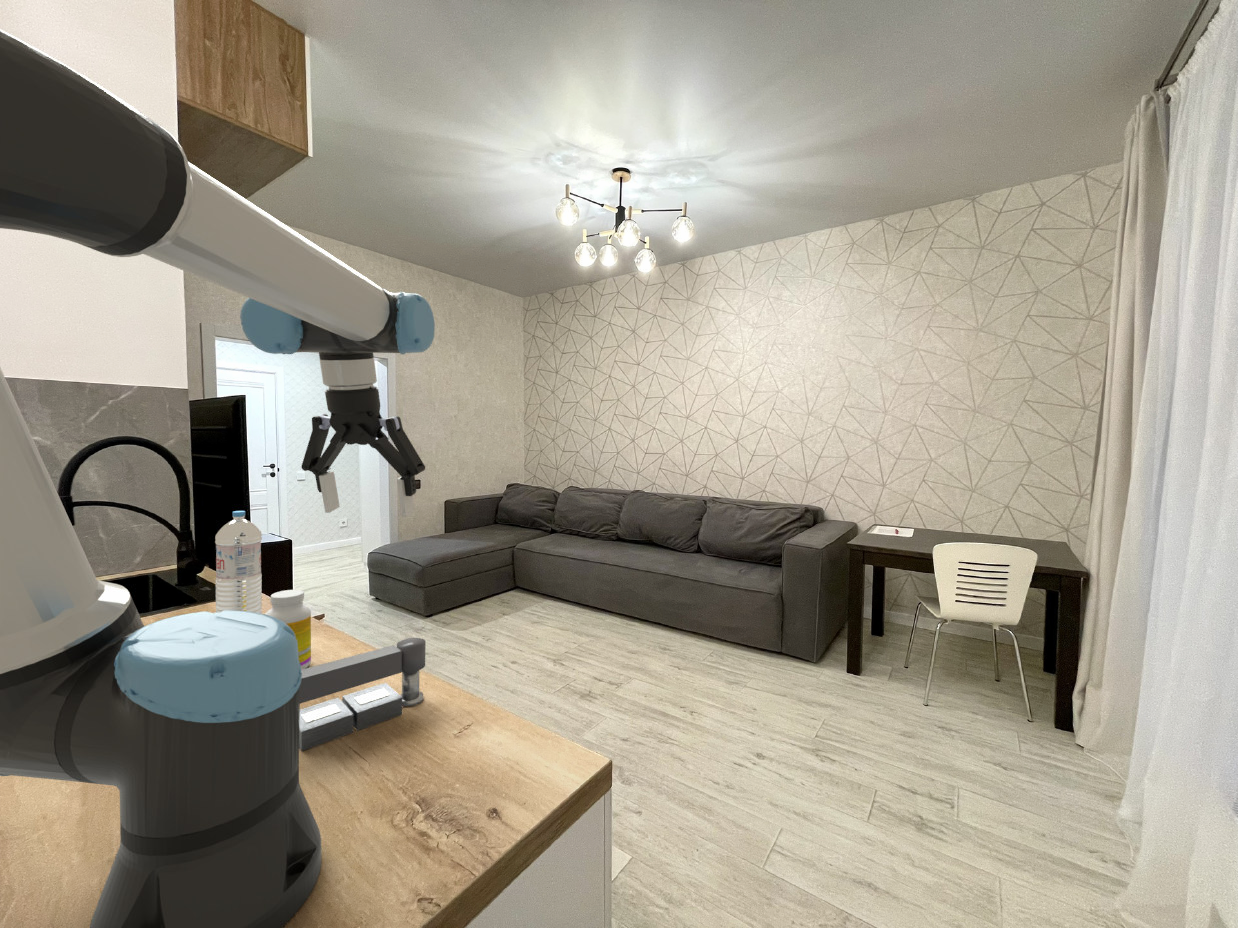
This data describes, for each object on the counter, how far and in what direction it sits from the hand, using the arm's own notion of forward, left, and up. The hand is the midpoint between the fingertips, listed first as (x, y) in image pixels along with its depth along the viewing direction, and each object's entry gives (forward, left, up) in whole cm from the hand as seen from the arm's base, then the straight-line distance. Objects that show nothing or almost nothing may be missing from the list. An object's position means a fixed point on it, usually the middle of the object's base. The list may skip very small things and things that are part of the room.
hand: (370, 511), depth 85 cm
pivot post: (0, -16, -27) cm, 31 cm away
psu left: (-12, -16, -27) cm, 33 cm away
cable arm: (-6, -16, -21) cm, 27 cm away
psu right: (-5, -16, -27) cm, 31 cm away
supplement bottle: (-10, +8, -27) cm, 30 cm away
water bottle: (-14, +25, -27) cm, 39 cm away
